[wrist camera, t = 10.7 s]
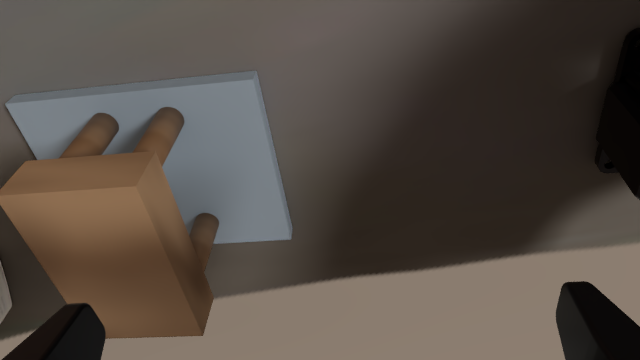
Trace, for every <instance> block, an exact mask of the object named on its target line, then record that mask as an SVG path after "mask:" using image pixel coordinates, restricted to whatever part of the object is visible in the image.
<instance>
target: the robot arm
mask: <svg viewBox="0 0 640 360" xmlns="http://www.w3.org/2000/svg"><path fill="white" fill-rule="evenodd" d="M638 40H640V28H637V29H634V30H633V31H631V32H630V33H629V34H628V35H627V36H626V37H625V40H624V42H623V46H622V50H621V54H620V58H619V62H618V67H617V71H616V75H615V79H614V82H613V83H612V84H611V85H610V86H609V88H608V89H607V93H606V97H605V101H604V106H603V110H602V114H601V118H600V123H599V127H598V131H597V135H596V140H597V141H598V143H599V145H598V150H597V154H596V158H595V164H596V165H597V167H598V168H599V170H600V171H601V172H603V173H619V174H620V175H621V177H622V178H623V180H624V181H625V182H626V184H627V185H628V187H629V188H630V190H631V191H632V193H633V194H634V196H636V197H637V198H638V199H639V200H640V46H637V47H635V44H636V42H637V41H638ZM608 160H611V162H609V163H606V162H607V161H608ZM605 163H606V164H605ZM556 322H557V327H558V331H559V335H560V338H561V343H562V347H563V351H564V355H565V359H566V360H640V327H639V326H638V325H637V324H636V323H635V322H634V321H633V320H632V319H630V318H629V317H628V316H627V315H626V314H625V313H624V312H623V311H621V310H620V309H619V308H618V307H617V306H616V305H615V304H614V303H612V302H611V301H610V300H609V299H608V298H607V297H606V296H605V295H604V294H602V293H601V292H600V291H599V290H598V289H597V288H596V287H595V286H593V285H592V284H590V283H589V282H584V281H583V282H567V283H564V284H563V286H562V288H561V292H560V296H559V301H558V305H557V309H556ZM105 338H106V332H105V327H104V325H103V324H102V322H101V321H100V319H99V317H98V316H97V314H96V313H95V311H94V310H93V308H92V307H91V305H89V304H88V303H70V304H67V305H65V306H64V307H62V308H61V309H60V310H59V311H58V312H56V313H55V314H54V315H53V316H52V317H51V318H49V319H48V320H47V321H46V322H45V323H44V324H42V325H41V326H40V327H39V328H38V329H37V330H36V331H34V332H33V333H32V334H31V335H30V336H29V337H27V338H26V339H25V340H24V341H23V342H22V343H21V344H19V345H18V346H17V347H16V348H15V349H14V350H12V351H11V352H10V353H9V354H8V355H7V356H5V357H4V358H3V359H2V360H101V356H102V351H103V347H104V343H105Z"/></svg>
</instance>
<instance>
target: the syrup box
mask: <svg viewBox="0 0 640 360" xmlns="http://www.w3.org/2000/svg"><path fill="white" fill-rule="evenodd" d="M11 307H12V301H11V297H10V293H9V288H8V285H7V281H6V278H5V274H4V271H3V268H2V265H1V261H0V324H1V322H2V321H3V319H4V318H5V316H6V315H7V313H8V312H9V310H10V308H11Z"/></svg>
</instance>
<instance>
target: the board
mask: <svg viewBox="0 0 640 360" xmlns="http://www.w3.org/2000/svg"><path fill="white" fill-rule="evenodd" d="M5 105H6V107H7V109H8V110H9V112H10V114H11V115H12V117H13V119H14V121H15V122H16V124H17V126H18V127H19V129H20V131H21V133H22V134H23V136H24V138H25V139H26V141H27V143H28V145H29V146H30V148H31V150H32V151H33V153H34V155H35V157H36V158H37V160H45V159H58V158H59V157H60V156H61V155H62V154H63V152H64V151H65V150H66V149H67V147H68V146H69V145H70V144H71V142H72V141H73V140H74V139H75V138H76V136H77V135H78V134H79V133H80V131H81V130H82V129H83V128H84V126H85V125H86V124H87V123H88V121H89V120H90V119H91V118H92V116H93V115H95V114H96V113H106V114H109V115H111V116H112V117H113V118H115V120H116V121H117V122H118V125H119V131H118V133H117V134H116V135H115V137H114V138H113V140H112V141H111V143H110V144H109V145H108V147H107V148H106V150H105V151H104V153H103V154H102V155H110V154H123V153H132V152H133V151H134V149H135V148H136V146H137V144H138V143H139V141H140V139H141V138H142V136H143V135H144V133H145V131H146V130H147V128H148V127H149V125H150V123H151V122H152V120H153V118H154V117H155V115H156V114H157V112H158V111H159V110H160V109H161V108H163V107H172V108H175V109H177V110H178V111H179V112H181V114H182V115H183V117H184V126H183V127H182V129H181V131H180V133H179V135H178V137H177V139H176V141H175V143H174V145H173V147H172V149H171V151H170V153H169V155H168V157H167V158H166V160H165V162H164V164H163V166H162V168H163V171H164V173H165V176H166V179H167V181H168V184H169V186H170V189H171V191H172V194H173V196H174V199H175V201H176V204H177V206H178V209H179V211H180V214H181V216H182V219H183V221H184V224H185V226H186V229H187V231H188V234H189V235H190V232H191V229H192V227H193V224H194V221H195V219H196V217H197V215H199V214H201V213H209V214H212V215H214V216H215V217H217V219H218V220H219V227H218V230H217V233H216V236H215V239H214V243H213V244H219V243H237V242H255V241H272V240H290V239H291V237H292V230H293V228H292V223H291V219H290V215H289V210H288V206H287V202H286V197H285V193H284V189H283V184H282V180H281V176H280V171H279V167H278V162H277V158H276V154H275V149H274V145H273V141H272V136H271V132H270V128H269V123H268V119H267V115H266V110H265V106H264V101H263V97H262V93H261V88H260V84H259V80H258V75H257V71H247V72H237V73H228V74H218V75H208V76H198V77H188V78H178V79H168V80H159V81H149V82H139V83H129V84H119V85H109V86H99V87H90V88H80V89H70V90H60V91H50V92H40V93H30V94H21V95H14V96H13V97H12V98H11V99H10V100H9V101H8V102H7V103H5Z"/></svg>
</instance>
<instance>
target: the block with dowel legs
mask: <svg viewBox="0 0 640 360" xmlns="http://www.w3.org/2000/svg"><path fill="white" fill-rule="evenodd" d="M183 126H184V117H183V115H182V114H181V112H179V111H178V110H177V109H175V108H172V107H163V108H161V109H160V110H159V111H158V112H157V114H156V115H155V117H154V118H153V120H152V122H151V123H150V125H149V127H148V128H147V130H146V131H145V133H144V135H143V136H142V138H141V139H140V141H139V143H138V144H137V146H136V148H135V149H134V151H133V152H132V153H123V154H110V155H102V154H103V153H104V151H105V150H106V148H107V147H108V145H109V144H110V143H111V141H112V140H113V138H114V137H115V135H116V134H117V133H118V131H119V125H118V122H117V121H116V120H115V118H113V117H112V116H111V115H109V114H106V113H96V114H95V115H93V116H92V118H91V119H90V120H89V121H88V123H87V124H86V125H85V126H84V128H83V129H82V130H81V131H80V133H79V134H78V135H77V136H76V138H75V139H74V140H73V141H72V142H71V144H70V145H69V146H68V147H67V149H66V150H65V151H64V152H63V154H62V155H61V156H60V157H59V158H58V159H45V160H32V161H25V162H24V163H23V165H22V166H21V167H20V168H19V169H18V170H17V171H16V172H15V173H14V175H13V176H12V177H11V178H10V179H9V180H8V181H7V182H6V184H5V185H4V186H3V187H2V188H1V189H0V205H1V206H2V208H3V209H4V211H5V212H6V214H7V215H8V217H9V218H10V220H11V221H12V223H13V224H14V226H15V227H16V229H17V230H18V232H19V233H20V235H21V236H22V237H23V239H24V240H25V242H26V243H27V245H28V246H29V248H30V249H31V251H32V252H33V254H34V255H35V257H36V258H37V260H38V261H39V263H40V264H41V266H42V267H43V269H44V270H45V271H46V273H47V274H48V276H49V277H50V279H51V280H52V282H53V283H54V285H55V286H56V288H57V289H58V291H59V292H60V294H61V295H62V297H63V298H64V300H65V301H66V303H67V304H70V303H88V304H89V305H91V307H92V308H93V310H94V311H95V313H96V314H97V316H98V317H99V319H100V321H101V322H102V324H103V325H104V327H105V332H106V338H105V339H107V338H142V337H173V336H174V337H176V336H203V333H204V330H205V327H206V323H207V319H208V316H209V312H210V309H211V305H212V302H213V298H214V297H213V294H212V292H211V289H210V287H209V284H208V282H207V279H206V277H205V274H204V271H205V268H206V265H207V261H208V258H209V255H210V252H211V249H212V246H213V243H214V239H215V236H216V233H217V230H218V227H219V220H218V219H217V217H215V216H214V215H212V214H209V213H201V214H199V215H197V217H196V219H195V221H194V224H193V227H192V229H191V232H190V235H189V234H188V231H187V229H186V226H185V224H184V221H183V219H182V216H181V214H180V211H179V209H178V206H177V204H176V201H175V199H174V196H173V194H172V191H171V189H170V186H169V184H168V181H167V179H166V176H165V173H164V171H163V168H162V166H163V164H164V162H165V160H166V158H167V157H168V155H169V153H170V151H171V149H172V147H173V145H174V143H175V141H176V139H177V137H178V135H179V133H180V131H181V129H182V127H183Z"/></svg>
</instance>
